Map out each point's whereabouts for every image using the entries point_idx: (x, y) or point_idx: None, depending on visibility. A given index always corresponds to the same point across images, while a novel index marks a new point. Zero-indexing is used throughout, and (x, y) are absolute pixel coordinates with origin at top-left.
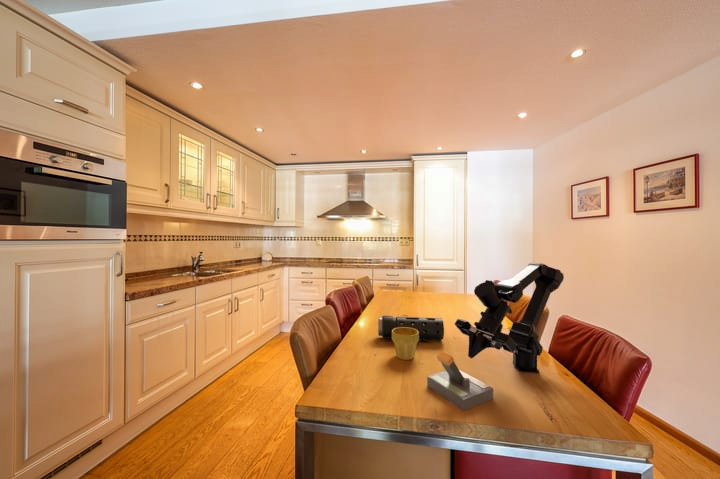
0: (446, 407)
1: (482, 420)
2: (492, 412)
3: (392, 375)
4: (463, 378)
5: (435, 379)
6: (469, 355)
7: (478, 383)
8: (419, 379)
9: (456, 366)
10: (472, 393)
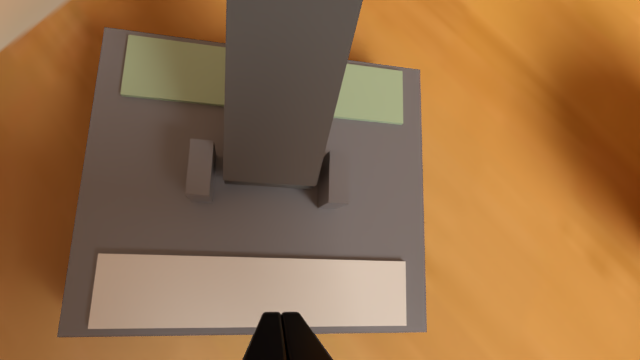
0: (200, 20)
1: (6, 73)
2: (8, 184)
3: (545, 30)
4: (224, 165)
5: (363, 70)
6: (280, 317)
7: (168, 283)
8: (463, 111)
9: (226, 25)
10: (115, 135)
